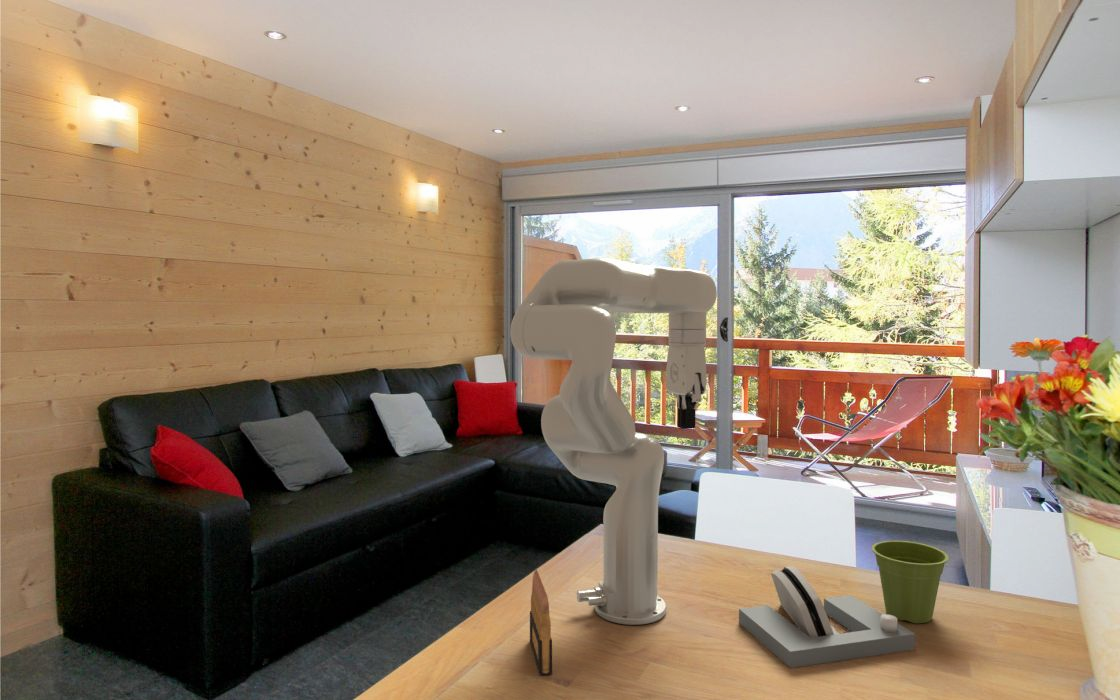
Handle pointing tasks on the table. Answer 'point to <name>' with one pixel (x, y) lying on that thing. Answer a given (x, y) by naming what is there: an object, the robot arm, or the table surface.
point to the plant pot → (909, 578)
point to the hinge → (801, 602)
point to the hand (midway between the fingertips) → (686, 427)
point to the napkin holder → (540, 627)
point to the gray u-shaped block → (799, 649)
